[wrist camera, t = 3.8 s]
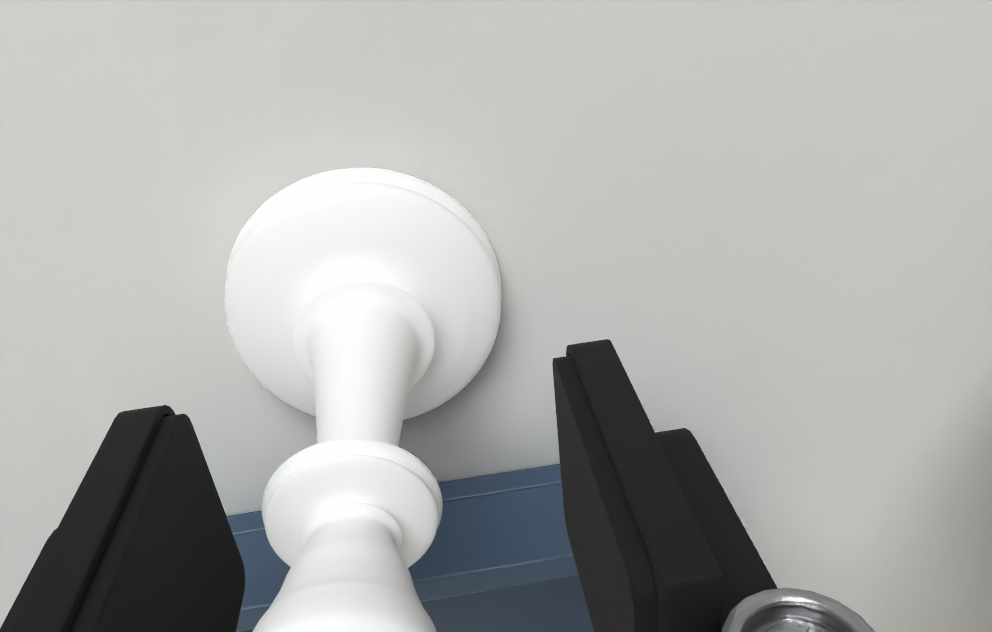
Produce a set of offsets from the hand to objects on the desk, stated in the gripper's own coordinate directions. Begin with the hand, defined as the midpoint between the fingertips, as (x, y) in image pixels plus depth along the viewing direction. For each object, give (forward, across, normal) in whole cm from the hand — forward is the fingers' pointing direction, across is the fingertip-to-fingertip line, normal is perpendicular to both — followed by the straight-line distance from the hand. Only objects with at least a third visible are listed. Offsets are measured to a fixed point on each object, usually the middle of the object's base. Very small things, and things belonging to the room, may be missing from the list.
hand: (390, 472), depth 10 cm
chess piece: (+5, 0, 0) cm, 5 cm away
